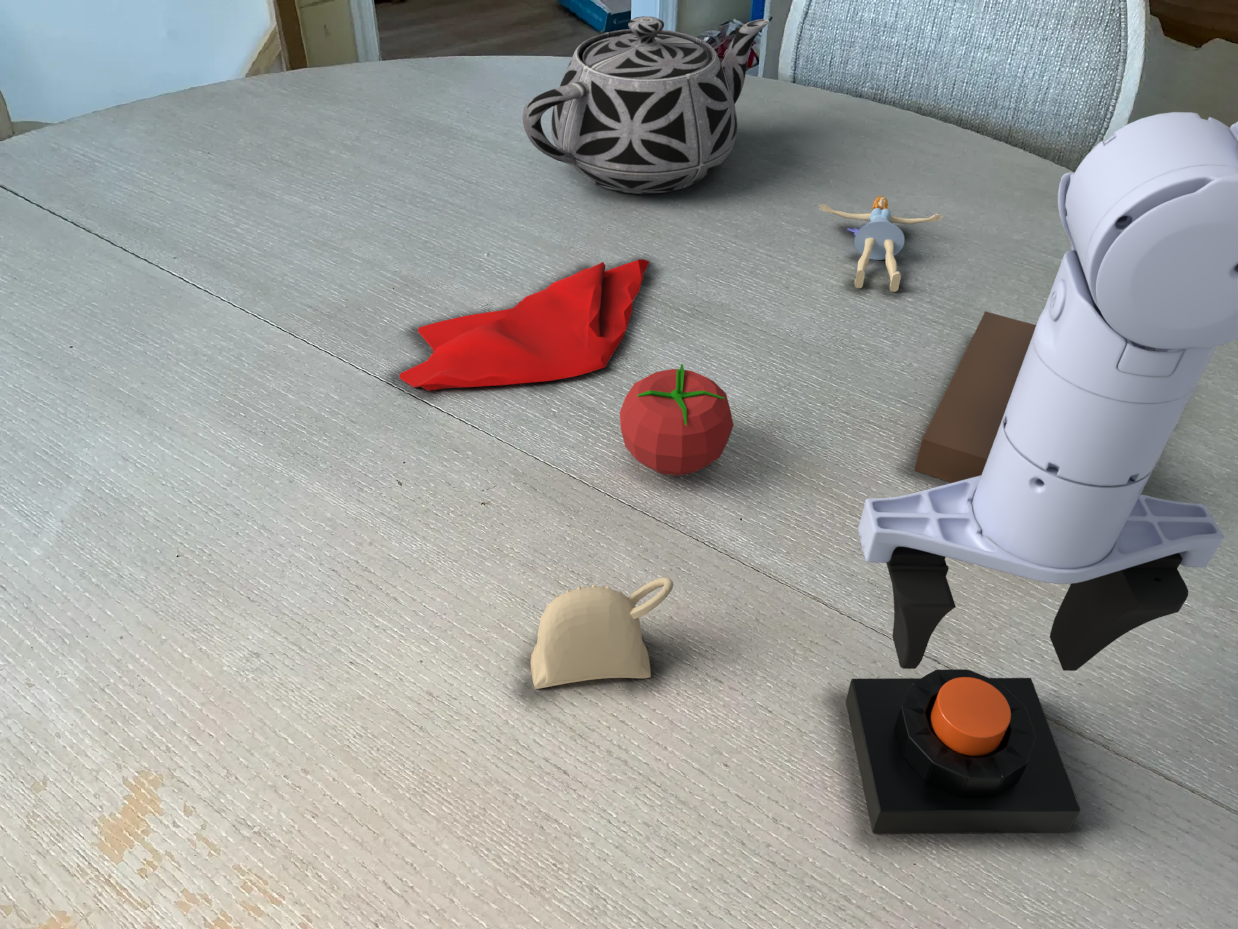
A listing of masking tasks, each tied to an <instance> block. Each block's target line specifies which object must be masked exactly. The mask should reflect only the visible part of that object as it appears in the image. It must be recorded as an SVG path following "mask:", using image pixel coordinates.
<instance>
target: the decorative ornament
mask: <svg viewBox="0 0 1238 929" xmlns="http://www.w3.org/2000/svg"><path fill="white" fill-rule="evenodd" d="M659 588H661V589H660V590H659V592H658V593H656V594H655V595H654V596H653V597H652V598H650V599H649V600H647V601H646V602H644V603H642V604H640V605H638V606H636V605H637V604H638V603H639V602H640V601H641V600H642V599H643V598H645V597H646V596H648V595H649V594H650V593H652V592H653V591H656V590H657V589H659ZM673 588H674V581H673V580H672V579H671V578H670V577H666V576H665V577H659V578H656V579H653V580H651V581H649V582H647V583H645V584H644V585H642V586H640V587H639V588H638V589H637V590H635V591H634V592H632V593H631V594H630V595H629V596H627V595H625V594H624V593H623V592H622V590H619V591H617V590H615V589H613V588H611V587H610V586H609V585H606V586H605V587H603V586H596V585H595V584H592V585H590V586H586V587H582V586H580V585H578V586H577V587H576V588H575V589H572V590H571V589H570V590H569V589H566V591H565V592H563V593H561V594H559V595H558V594H556V595H555V598H554V599H552V600H551V601H550V602H549V604H546V605H545V606H546V608H545V609H544V611H543V613H542V614H541V616H540V618H539V619H540V621H539V626H538V631H537V634H536V635H537V641H536V644H535V645H534V648H533V651H532V652H531V655H530V671H531V677H532V683H533V686H534V689H535V690H538V689H543V688H545V689H546V688H548V687H554V686H555V687H556V686H561V685H565V684H572V683H578V682H584V681H591V680H592V681H593V680H600V679H601V680H603V679H650V678H651V677H652V675H651V674H652V673H651V663H650V657H649V652H648V649H647V646H646V645H645V643H644V641H643V638H642V626H641V620H640V618H641V617H643V616H645V615H647V614H648V613H650V612H651V611H653V610H654V609H656V608H657V607H658V606H659V605H660V604H661V603H663V601H664V600H666V599H667V597H668V596H669V595H670V593H671V592H672V590H673Z"/></svg>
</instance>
